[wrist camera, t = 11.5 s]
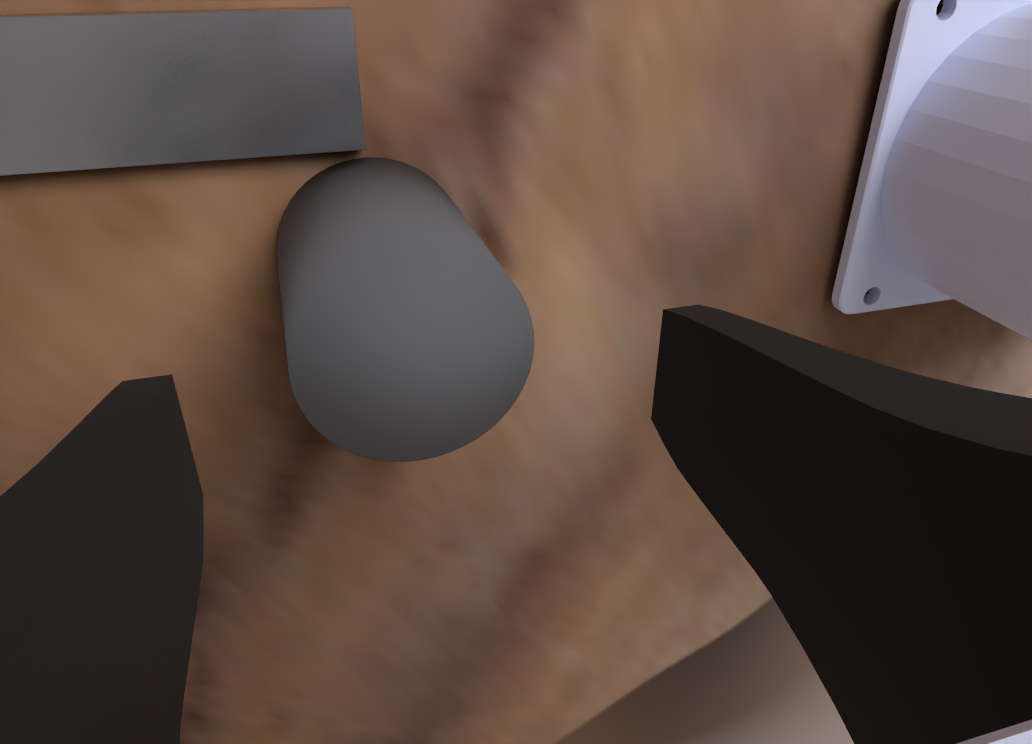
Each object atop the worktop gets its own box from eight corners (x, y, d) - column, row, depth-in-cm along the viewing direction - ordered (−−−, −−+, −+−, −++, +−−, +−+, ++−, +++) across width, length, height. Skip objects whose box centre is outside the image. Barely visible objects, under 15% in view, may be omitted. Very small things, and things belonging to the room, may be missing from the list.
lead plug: (462, 152, 16) (537, 231, 12) (464, 323, 18) (530, 442, 14) (262, 163, 15) (271, 254, 11) (289, 344, 17) (303, 478, 13)
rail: (349, 7, 14) (352, 8, 14) (362, 144, 15) (365, 149, 15) (-406, 24, 11) (-426, 28, 11) (-315, 192, 13) (-330, 198, 12)
